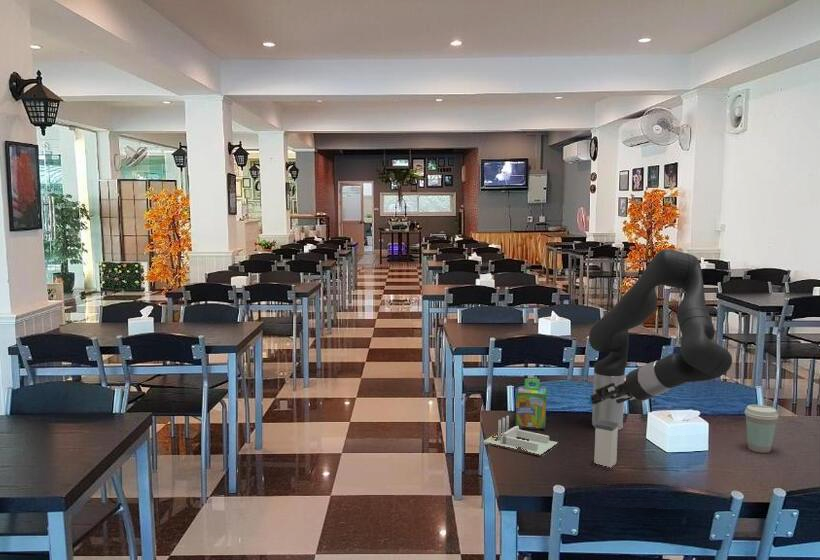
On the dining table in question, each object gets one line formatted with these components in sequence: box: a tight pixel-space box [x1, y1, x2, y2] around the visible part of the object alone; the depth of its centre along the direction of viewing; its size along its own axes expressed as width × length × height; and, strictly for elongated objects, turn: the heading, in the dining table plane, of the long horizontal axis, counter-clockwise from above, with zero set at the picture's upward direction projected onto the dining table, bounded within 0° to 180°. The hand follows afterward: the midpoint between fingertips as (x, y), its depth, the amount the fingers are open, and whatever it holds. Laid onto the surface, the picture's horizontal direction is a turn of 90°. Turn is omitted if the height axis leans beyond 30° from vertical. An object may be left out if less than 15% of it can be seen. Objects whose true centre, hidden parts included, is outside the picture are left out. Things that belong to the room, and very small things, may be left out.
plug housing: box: [593, 420, 619, 469], centre depth 179 cm, size 4×4×11 cm
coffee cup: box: [744, 404, 779, 454], centre depth 190 cm, size 8×8×12 cm
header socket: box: [482, 415, 559, 455], centre depth 193 cm, size 12×18×7 cm, turn 55°
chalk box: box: [515, 378, 548, 429], centre depth 210 cm, size 9×9×15 cm
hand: (604, 400), depth 172 cm, fingers open, 8 cm apart
